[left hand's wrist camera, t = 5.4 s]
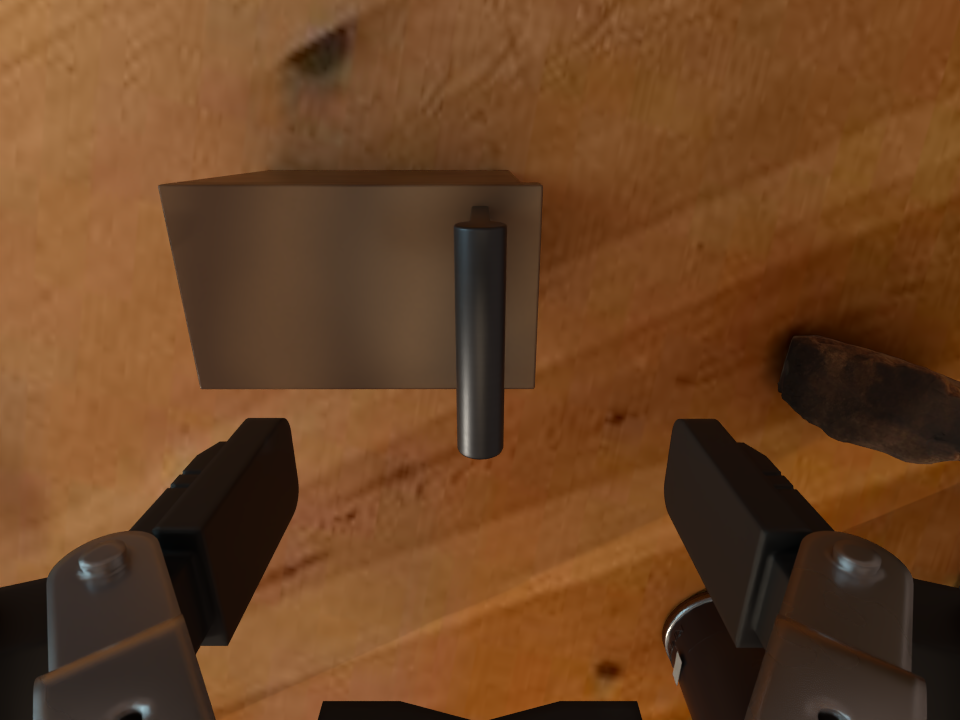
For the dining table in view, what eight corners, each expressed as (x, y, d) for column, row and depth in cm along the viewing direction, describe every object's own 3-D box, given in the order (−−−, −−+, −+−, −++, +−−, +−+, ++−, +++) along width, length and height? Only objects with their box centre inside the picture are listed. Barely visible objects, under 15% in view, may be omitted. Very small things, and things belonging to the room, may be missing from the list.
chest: (509, 170, 33) (522, 182, 23) (506, 312, 37) (516, 377, 26) (267, 170, 33) (174, 182, 23) (287, 312, 37) (213, 378, 26)
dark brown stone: (949, 354, 38) (1119, 430, 28) (904, 429, 40) (1046, 525, 30) (789, 315, 37) (906, 380, 27) (752, 394, 39) (846, 482, 29)
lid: (539, 182, 23) (571, 203, 15) (532, 378, 26) (554, 477, 19) (173, 182, 23) (16, 203, 15) (212, 378, 26) (100, 478, 19)
